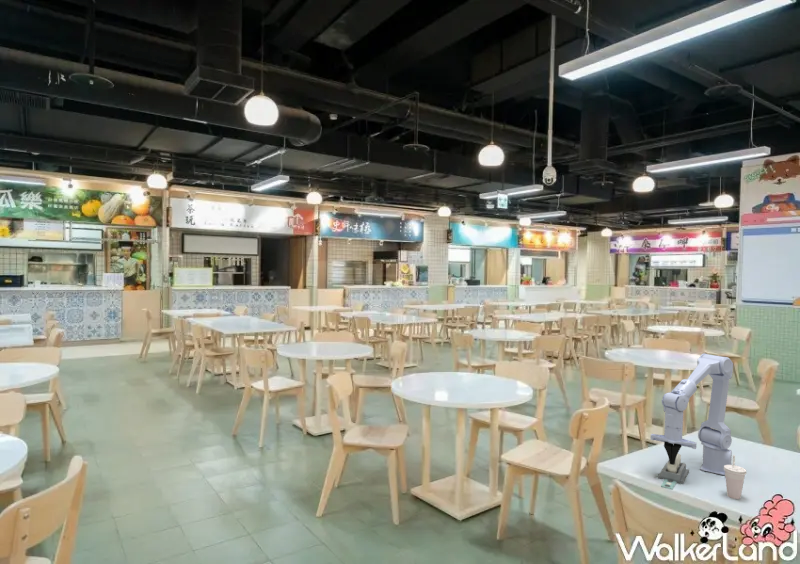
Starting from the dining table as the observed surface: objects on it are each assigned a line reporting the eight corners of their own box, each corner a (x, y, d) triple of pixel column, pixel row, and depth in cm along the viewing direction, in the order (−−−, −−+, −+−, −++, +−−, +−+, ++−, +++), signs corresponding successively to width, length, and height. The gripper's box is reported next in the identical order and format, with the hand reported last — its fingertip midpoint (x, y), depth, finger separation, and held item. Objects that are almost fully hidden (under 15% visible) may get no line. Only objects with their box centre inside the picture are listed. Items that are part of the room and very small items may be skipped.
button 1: (677, 474, 182) (677, 463, 182) (675, 476, 180) (676, 465, 180) (668, 472, 184) (668, 461, 184) (666, 474, 181) (666, 463, 181)
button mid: (679, 468, 185) (679, 457, 185) (677, 470, 183) (678, 459, 183) (670, 466, 187) (670, 455, 187) (668, 468, 185) (669, 457, 185)
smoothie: (718, 492, 171) (719, 452, 171) (735, 492, 172) (737, 451, 171) (732, 501, 165) (733, 459, 164) (750, 500, 165) (751, 458, 165)
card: (676, 482, 179) (676, 481, 179) (672, 489, 173) (672, 488, 173) (665, 479, 181) (665, 478, 181) (660, 486, 175) (661, 485, 175)
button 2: (681, 464, 189) (681, 454, 189) (679, 467, 187) (680, 456, 186) (672, 462, 191) (672, 452, 191) (670, 465, 188) (671, 454, 188)
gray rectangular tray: (688, 472, 188) (689, 464, 188) (683, 484, 177) (683, 475, 177) (665, 466, 193) (665, 459, 193) (658, 478, 182) (658, 470, 182)
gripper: (649, 424, 183) (647, 461, 183) (695, 433, 174) (693, 472, 174) (653, 420, 188) (651, 456, 188) (697, 428, 179) (696, 466, 180)
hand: (672, 463), depth 182 cm, fingers closed, pressing on button 1
